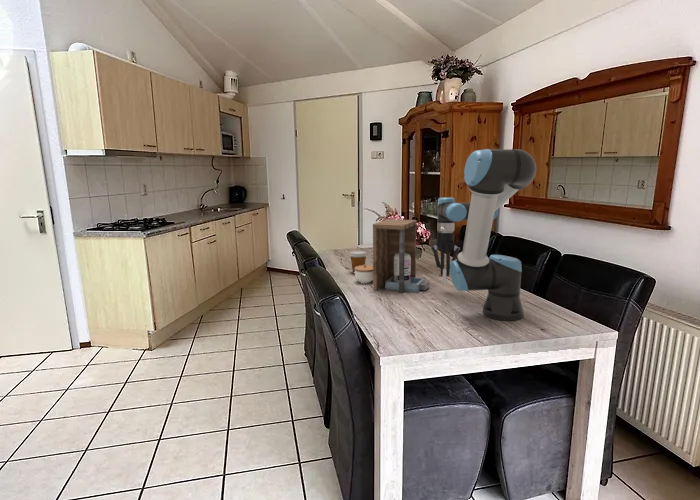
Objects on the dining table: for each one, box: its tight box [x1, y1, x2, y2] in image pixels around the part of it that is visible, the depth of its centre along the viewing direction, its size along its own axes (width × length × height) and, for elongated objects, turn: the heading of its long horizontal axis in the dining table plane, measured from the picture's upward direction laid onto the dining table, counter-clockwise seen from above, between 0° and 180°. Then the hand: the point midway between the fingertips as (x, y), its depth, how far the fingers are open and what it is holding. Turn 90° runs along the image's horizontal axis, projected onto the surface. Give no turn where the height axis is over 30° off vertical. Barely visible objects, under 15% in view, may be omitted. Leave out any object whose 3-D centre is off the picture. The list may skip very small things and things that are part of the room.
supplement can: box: [394, 253, 411, 284], centre depth 199 cm, size 8×8×15 cm
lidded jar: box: [354, 263, 373, 284], centre depth 210 cm, size 11×11×9 cm
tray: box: [384, 276, 430, 293], centre depth 199 cm, size 13×19×4 cm
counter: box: [372, 218, 417, 294], centre depth 199 cm, size 20×15×32 cm
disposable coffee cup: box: [349, 250, 368, 273], centre depth 229 cm, size 10×10×12 cm
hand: (445, 282), depth 189 cm, fingers closed
